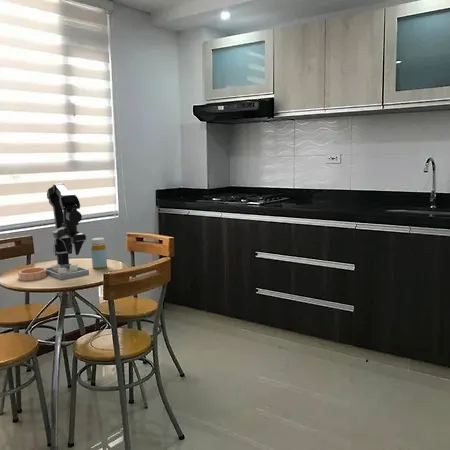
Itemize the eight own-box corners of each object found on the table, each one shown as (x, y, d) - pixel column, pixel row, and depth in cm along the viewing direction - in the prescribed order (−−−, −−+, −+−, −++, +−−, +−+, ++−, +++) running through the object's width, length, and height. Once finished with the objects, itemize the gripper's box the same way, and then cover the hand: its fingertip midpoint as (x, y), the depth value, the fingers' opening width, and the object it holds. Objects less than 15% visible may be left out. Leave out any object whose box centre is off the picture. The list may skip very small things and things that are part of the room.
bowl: (15, 278, 222) (14, 270, 222) (40, 273, 230) (40, 266, 230) (24, 282, 213) (24, 275, 213) (51, 277, 221) (50, 270, 221)
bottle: (103, 270, 233) (101, 239, 231) (90, 269, 234) (88, 239, 232) (109, 266, 240) (107, 237, 238) (96, 266, 241) (94, 237, 239)
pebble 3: (69, 273, 227) (68, 265, 226) (76, 271, 229) (75, 263, 229) (72, 274, 224) (71, 266, 224) (79, 272, 227) (78, 264, 226)
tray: (42, 273, 230) (42, 268, 229) (70, 268, 239) (69, 263, 239) (60, 280, 215) (59, 275, 215) (88, 274, 224) (88, 269, 224)
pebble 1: (51, 273, 227) (50, 265, 227) (58, 272, 230) (58, 264, 229) (54, 274, 225) (53, 266, 224) (62, 273, 227) (61, 265, 227)
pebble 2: (57, 277, 220) (56, 268, 220) (64, 275, 223) (64, 267, 222) (60, 278, 217) (60, 269, 217) (68, 276, 220) (67, 268, 219)
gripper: (45, 221, 225) (48, 253, 227) (62, 224, 211) (64, 259, 213) (67, 218, 232) (70, 250, 234) (85, 221, 219) (87, 255, 221)
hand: (72, 253), depth 226 cm, fingers open, 9 cm apart
